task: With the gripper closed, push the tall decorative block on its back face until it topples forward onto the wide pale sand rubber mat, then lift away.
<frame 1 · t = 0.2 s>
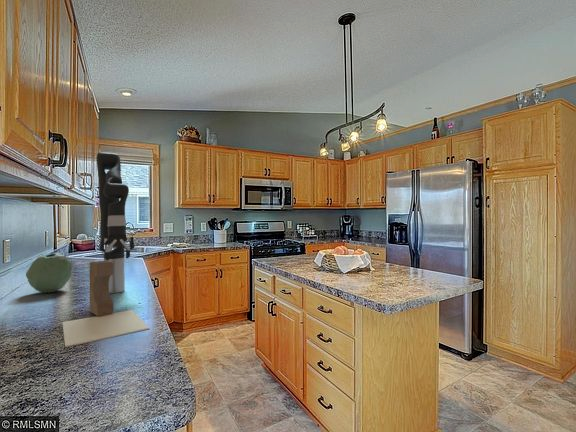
hand: (117, 259, 145), 18 cm above the countertop, tool pointing down, fingers open, 8 cm apart
decorative block: (101, 313, 120), on the countertop, touching sand mat
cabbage: (50, 292, 156), on the countertop
sand mat: (104, 326, 106), on the countertop
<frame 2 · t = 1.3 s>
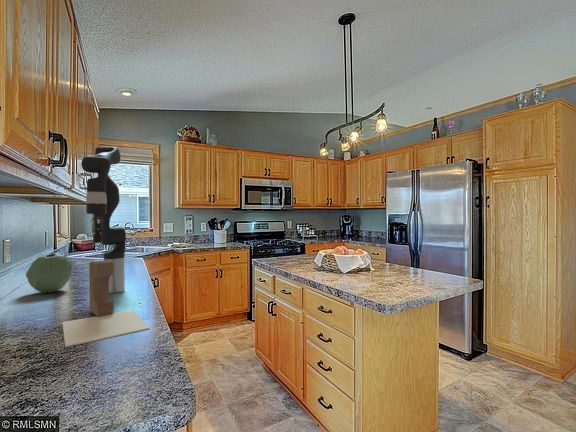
hand: (96, 242, 131), 27 cm above the countertop, tool pointing down, fingers open, 4 cm apart
nothing on the countertop moved.
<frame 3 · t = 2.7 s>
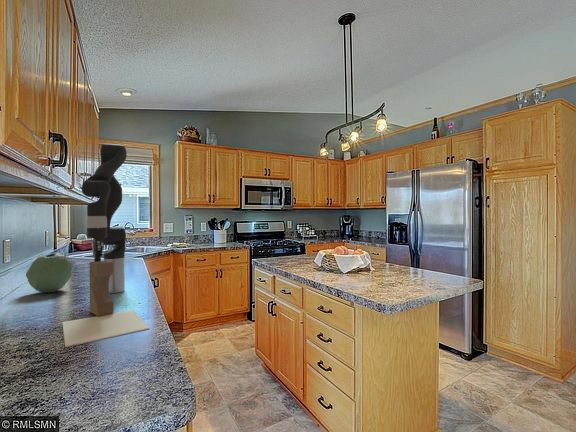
hand: (97, 266, 131), 17 cm above the countertop, tool pointing down, fingers closed
nothing on the countertop moved.
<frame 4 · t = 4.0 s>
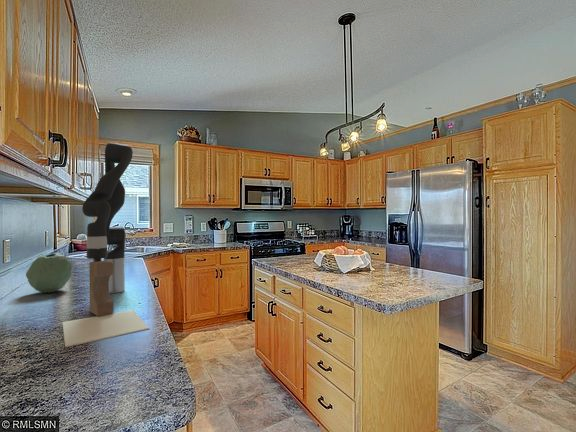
hand: (97, 287, 130), 8 cm above the countertop, tool pointing down, fingers closed
nothing on the countertop moved.
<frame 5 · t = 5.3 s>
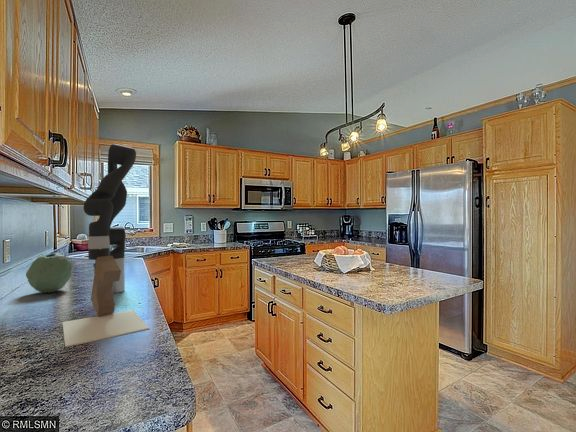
hand: (99, 289, 125), 8 cm above the countertop, tool pointing down, fingers closed
decorative block: (101, 307, 120), point 3 cm above the countertop, touching sand mat
everything else where it was.
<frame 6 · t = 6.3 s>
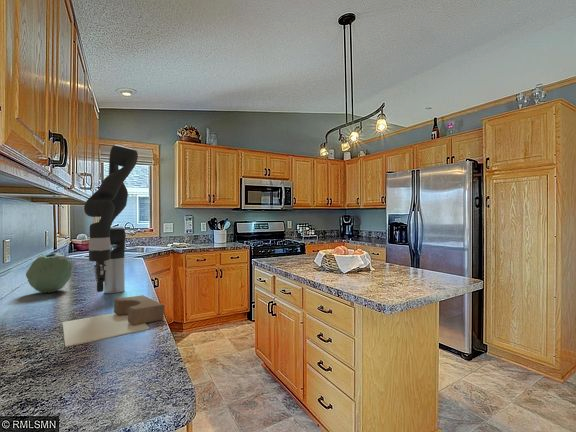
hand: (100, 291, 123), 8 cm above the countertop, tool pointing down, fingers closed
decorative block: (128, 303, 122), point 3 cm above the countertop, touching sand mat
everything else where it was.
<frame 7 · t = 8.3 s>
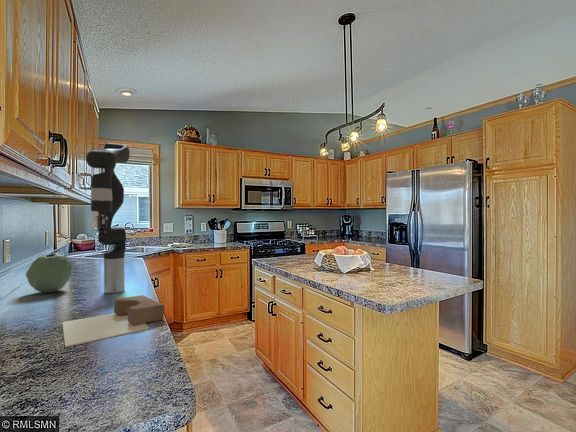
hand: (101, 241, 125), 28 cm above the countertop, tool pointing down, fingers closed
nothing on the countertop moved.
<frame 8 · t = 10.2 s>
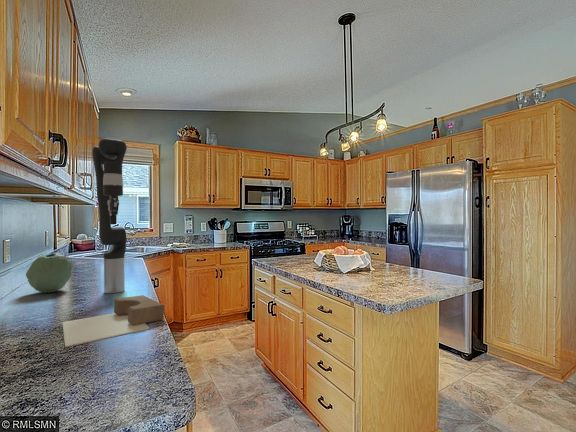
hand: (113, 224, 133), 35 cm above the countertop, tool pointing down, fingers closed
nothing on the countertop moved.
at the end: decorative block tilted 91°; decorative block touching sand mat, countertop; decorative block inside the target area (13.4 cm from its centre), point 3.2 cm above the countertop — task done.
